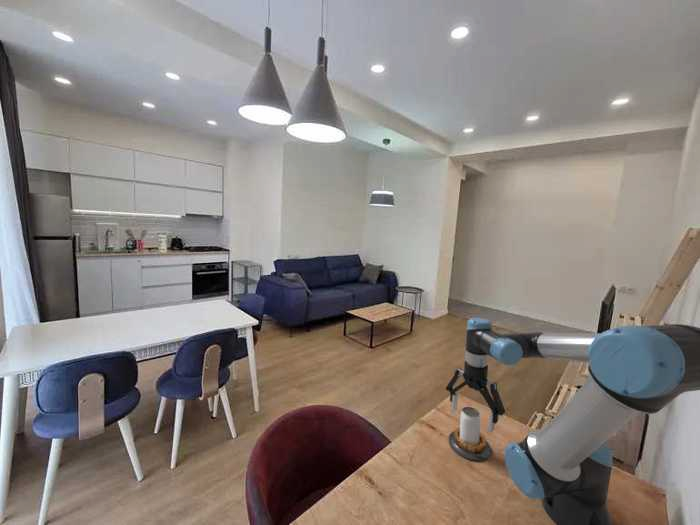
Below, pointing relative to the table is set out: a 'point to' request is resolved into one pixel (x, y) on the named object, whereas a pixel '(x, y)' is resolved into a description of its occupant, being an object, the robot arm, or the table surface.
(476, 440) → the can
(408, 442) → the table surface
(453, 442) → the grey and gold ring
